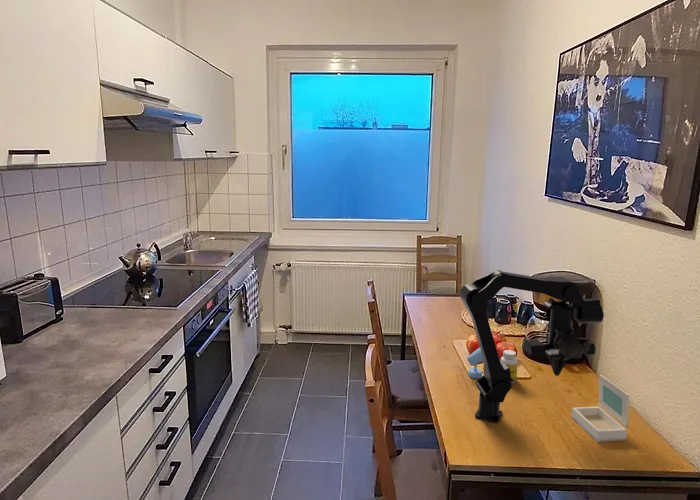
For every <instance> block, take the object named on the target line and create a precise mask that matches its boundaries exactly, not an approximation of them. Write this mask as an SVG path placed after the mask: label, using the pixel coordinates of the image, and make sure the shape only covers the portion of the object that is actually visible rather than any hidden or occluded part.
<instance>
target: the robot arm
mask: <svg viewBox="0 0 700 500" xmlns="http://www.w3.org/2000/svg"><path fill="white" fill-rule="evenodd" d="M504 288H507V289H508V288H509V289H514V290H519V291H520V290H521V291H527V292H531V293H532V292H533V293H537V294H538V293H539V294H544V295H546V296H548V297H550V298H549V299H548V300H547V301H545V302H543V306H544V307H546V308H548V310H549V309H550V316H549V317H550V318H549V322H547V326H546V327H548V330H549V331H548V336H546V337H545V341H547V342H546V343H543V342H541V341H540V340H538V339H525V340H524V341H523V342H522V349H523V350H524V351H525V352H527V354H528V355H529V356H531V357H544V356H545V355H546V356H547V358H548V360H549V364H550V366H551V370H552V372H553V374H554V376H555V377H559V376H560V374H561V373H562V372H563V371H562V370H563V368H564V367H565V365H566V363H567V361H569V360H570V359H581V358H582V355H583V354H585V355H596V352H597V347H596V344H595V343H593V342H591V341H590V340H589V339H588V338H585V337H576V331H575V328H573V321H574V320H575V322H576V323H578V324H600V323H602V322H603V320H604V315H605V314H604V312H603V311H604V310H603V307H602V305H601V300H600V299H598V298H597V297H590V298H583V296H582V295H581V294H580V288H579V285H578V284H577V282H574V281H572V280H570V279H568V278H566V277H564V276H548V277H538V276H532V275H531V276H530V275H525V274H520V273H514V272H508V271H507V272H506V271H502V270H501V269H495V270H493V271H492V272H490V273H488V274H487V275H484V276H481V277H479V278H477V279H475V280H474V281H473V282H470V283H465V284H463V286H462V287H461V288H460V290H459V297H460V299H461V301H462V304H463V305H464V307H465V309H466V310H467V312H468V314H469V316H470V318H471V321H472V324H473V328H474V331H475V335H476V338H477V341H478V344H479V347H480V348H481V352H482V355H483V359H484V362H483V368H482V369H483V370H482V372H483V374H482V377H481V378H478V380H476V381H475V386H476V389H477V390H478V391H479V396H478V397H479V398H478V399H479V400H478V409H477V411H476V413H475V414H474V417H475V418H477V419H481V420H485V421H488V422H493V423H496V424H498V423H499V421H500V419H501V417H502V416H503V411H502V410H501V409H500V406H501V403H504V402H505V399H506V397H507V394H508V393H509V392H510V391H511V389H512V388H513V383H514V382H513V380H512V378H511V374H510V369H509V367H508V366H507V365H506V364H505V363H504V362H503V360H501V359H500V356H499V353H498V350H497V346H496V343H495V339H494V337H493V336H494V335H493V333H492V328H491V326H490V323H489V321H490V320H489V319H488V312H489V301H490V300H492V299H494V297H495V296H497V294H498V293H499V292H500V290H502V289H504ZM551 297H552V298H551ZM556 299H557V300H556ZM511 382H513V383H511Z"/></svg>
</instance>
